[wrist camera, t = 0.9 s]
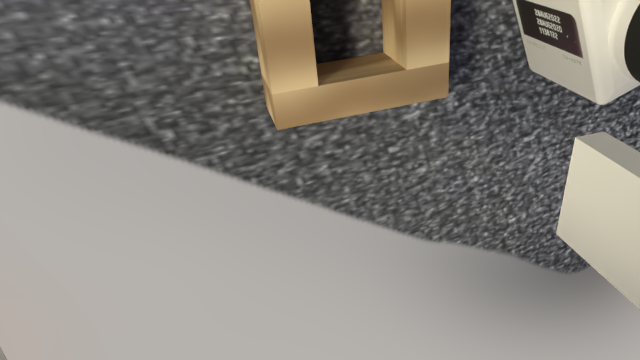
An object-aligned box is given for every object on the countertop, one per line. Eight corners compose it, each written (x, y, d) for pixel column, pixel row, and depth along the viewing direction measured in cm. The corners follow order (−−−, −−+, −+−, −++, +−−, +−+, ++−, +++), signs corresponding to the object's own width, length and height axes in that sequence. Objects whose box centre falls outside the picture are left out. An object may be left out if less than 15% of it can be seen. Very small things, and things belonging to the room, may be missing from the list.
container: (528, 71, 39) (672, 145, 28) (502, -29, 35) (659, 11, 24) (621, 19, 39) (803, 72, 28) (607, -87, 35) (813, -75, 24)
